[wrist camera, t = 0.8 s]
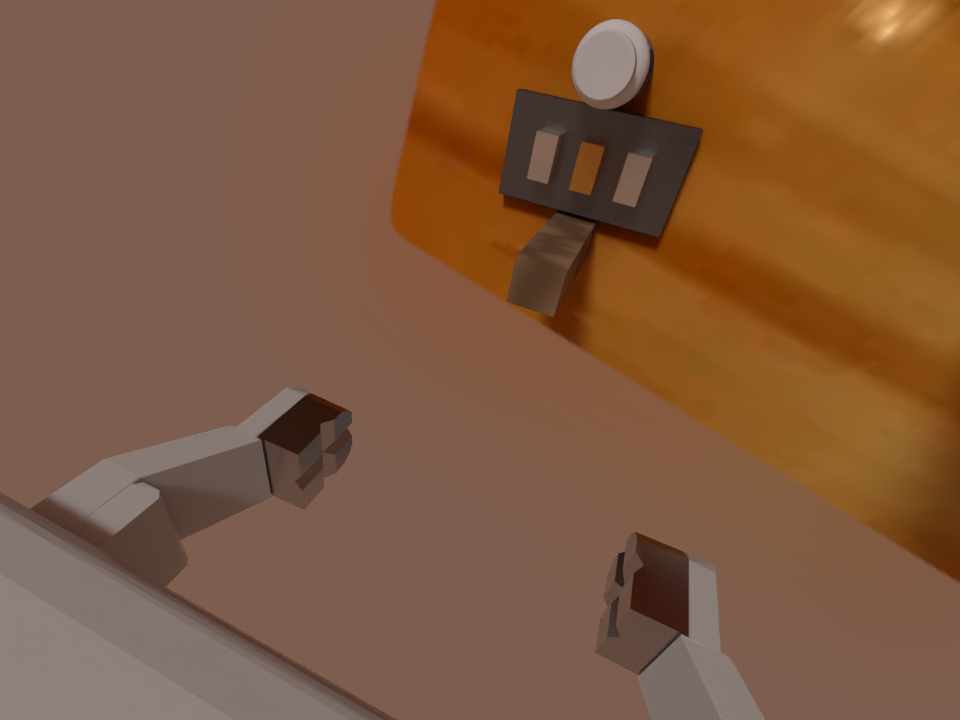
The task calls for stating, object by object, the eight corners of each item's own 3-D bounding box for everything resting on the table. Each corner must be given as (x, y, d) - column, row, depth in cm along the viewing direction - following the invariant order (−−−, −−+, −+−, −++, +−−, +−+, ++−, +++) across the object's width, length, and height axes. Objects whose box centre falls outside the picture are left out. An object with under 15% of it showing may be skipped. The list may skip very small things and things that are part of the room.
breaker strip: (702, 128, 37) (703, 133, 34) (660, 232, 42) (658, 244, 40) (522, 88, 40) (510, 90, 38) (503, 189, 46) (491, 197, 43)
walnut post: (597, 220, 44) (567, 271, 33) (584, 258, 46) (553, 317, 35) (558, 210, 45) (516, 255, 34) (548, 247, 47) (506, 301, 36)
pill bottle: (618, 119, 39) (602, 131, 31) (574, 74, 38) (546, 75, 31) (670, 59, 36) (665, 56, 28) (622, 9, 35) (604, -7, 27)
